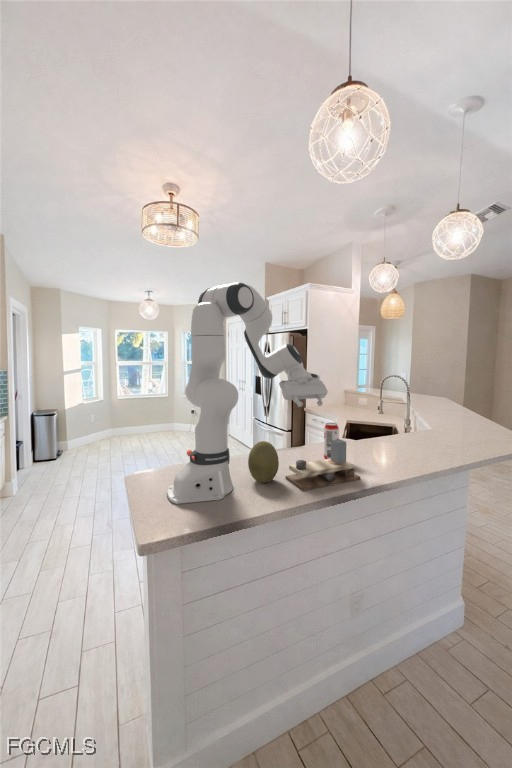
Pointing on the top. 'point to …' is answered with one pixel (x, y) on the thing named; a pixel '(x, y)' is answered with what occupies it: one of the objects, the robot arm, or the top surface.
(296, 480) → the rocker stand
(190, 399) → the robot arm
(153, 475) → the top surface
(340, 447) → the block
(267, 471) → the fruit
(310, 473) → the balance board
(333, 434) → the beer can
